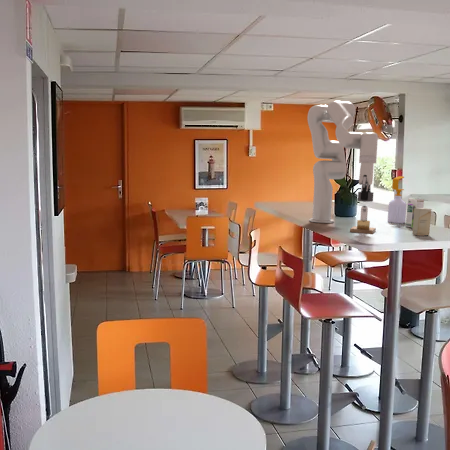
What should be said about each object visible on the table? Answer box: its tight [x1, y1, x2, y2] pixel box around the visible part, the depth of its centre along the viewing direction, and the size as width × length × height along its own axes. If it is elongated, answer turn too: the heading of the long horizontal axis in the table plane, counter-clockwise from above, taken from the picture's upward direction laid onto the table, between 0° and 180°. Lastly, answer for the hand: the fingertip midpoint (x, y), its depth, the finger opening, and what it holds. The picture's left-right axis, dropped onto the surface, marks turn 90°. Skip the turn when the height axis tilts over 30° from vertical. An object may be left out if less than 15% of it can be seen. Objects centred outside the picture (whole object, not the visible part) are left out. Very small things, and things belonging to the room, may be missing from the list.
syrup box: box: [405, 197, 425, 229], centre depth 278 cm, size 6×6×14 cm
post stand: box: [349, 205, 376, 235], centre depth 256 cm, size 10×10×12 cm
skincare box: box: [411, 207, 432, 237], centre depth 251 cm, size 6×4×12 cm
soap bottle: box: [387, 175, 407, 224], centre depth 297 cm, size 9×9×25 cm
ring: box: [357, 191, 374, 203], centre depth 254 cm, size 6×6×4 cm
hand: (365, 199), depth 254 cm, fingers closed on ring, 6 cm apart
